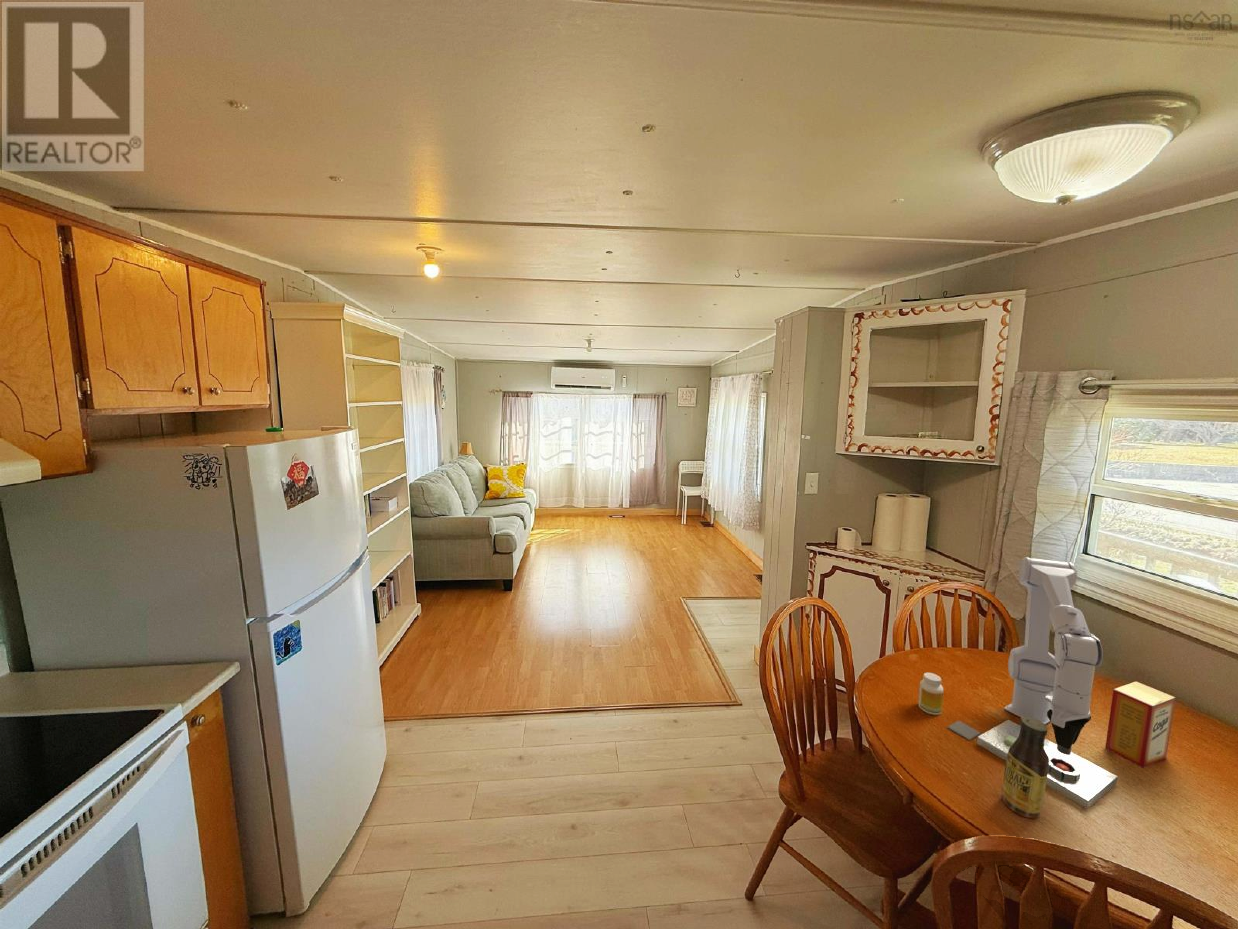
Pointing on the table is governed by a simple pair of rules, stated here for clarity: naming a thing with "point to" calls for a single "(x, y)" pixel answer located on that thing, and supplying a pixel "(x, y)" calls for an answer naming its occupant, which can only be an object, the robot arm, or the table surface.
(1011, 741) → the pad
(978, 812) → the table surface
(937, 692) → the supplement bottle
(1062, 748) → the dark grey cylinder
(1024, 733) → the sauce bottle
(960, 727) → the pad
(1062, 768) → the trip button
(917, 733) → the table surface
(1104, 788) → the panel
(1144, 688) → the baking soda box
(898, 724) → the table surface
